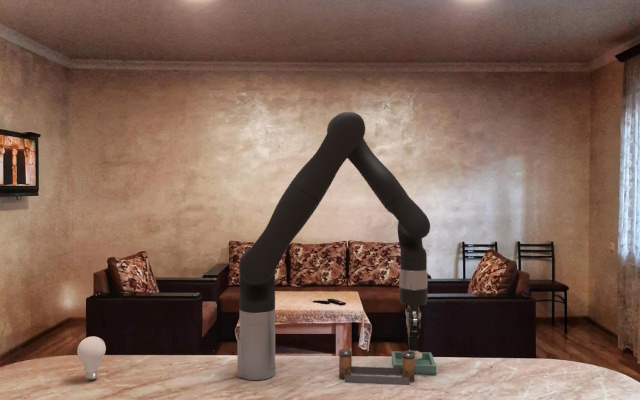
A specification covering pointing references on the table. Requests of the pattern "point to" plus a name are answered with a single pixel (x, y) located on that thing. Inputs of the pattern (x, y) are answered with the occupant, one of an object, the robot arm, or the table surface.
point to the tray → (417, 363)
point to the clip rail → (376, 370)
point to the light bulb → (91, 355)
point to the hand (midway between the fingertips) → (412, 348)
